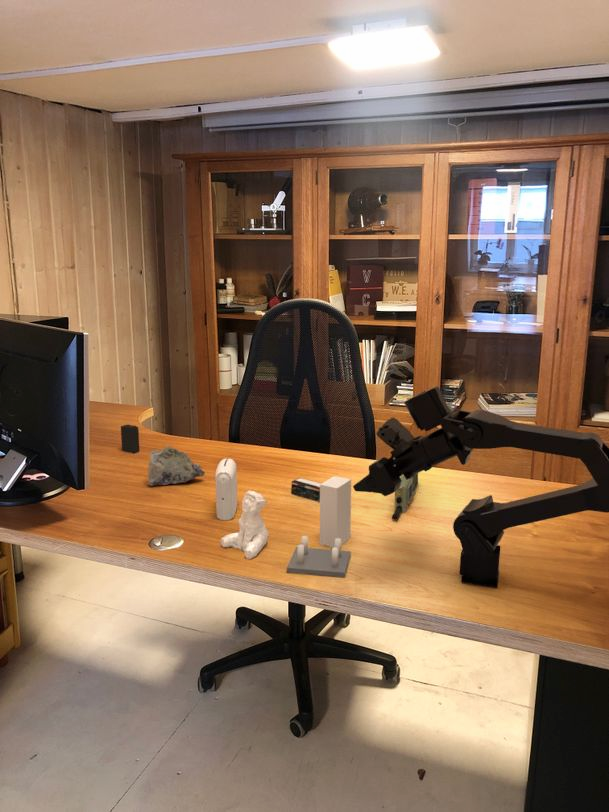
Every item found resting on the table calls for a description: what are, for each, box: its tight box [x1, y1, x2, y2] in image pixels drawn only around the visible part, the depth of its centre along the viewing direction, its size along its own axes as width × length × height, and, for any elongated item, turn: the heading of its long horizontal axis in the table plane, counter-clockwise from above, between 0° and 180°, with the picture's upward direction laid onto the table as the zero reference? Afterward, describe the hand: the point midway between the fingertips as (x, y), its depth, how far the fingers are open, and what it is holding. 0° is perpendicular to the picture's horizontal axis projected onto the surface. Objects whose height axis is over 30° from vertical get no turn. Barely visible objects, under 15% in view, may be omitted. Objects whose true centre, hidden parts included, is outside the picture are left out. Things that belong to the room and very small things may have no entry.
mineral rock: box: [147, 445, 206, 487], centre depth 172 cm, size 13×11×10 cm
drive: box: [319, 475, 352, 548], centre depth 138 cm, size 4×6×13 cm, turn 148°
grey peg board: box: [286, 535, 352, 579], centre depth 129 cm, size 11×9×4 cm
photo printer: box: [214, 457, 238, 521], centre depth 153 cm, size 10×4×12 cm, turn 0°
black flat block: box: [290, 477, 322, 503], centre depth 164 cm, size 14×25×4 cm, turn 52°
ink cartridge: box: [120, 424, 141, 454], centre depth 199 cm, size 5×2×8 cm, turn 61°
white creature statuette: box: [220, 490, 270, 560], centre depth 136 cm, size 10×9×12 cm
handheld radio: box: [391, 473, 419, 521], centre depth 160 cm, size 7×3×25 cm
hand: (363, 481), depth 131 cm, fingers open, 9 cm apart
